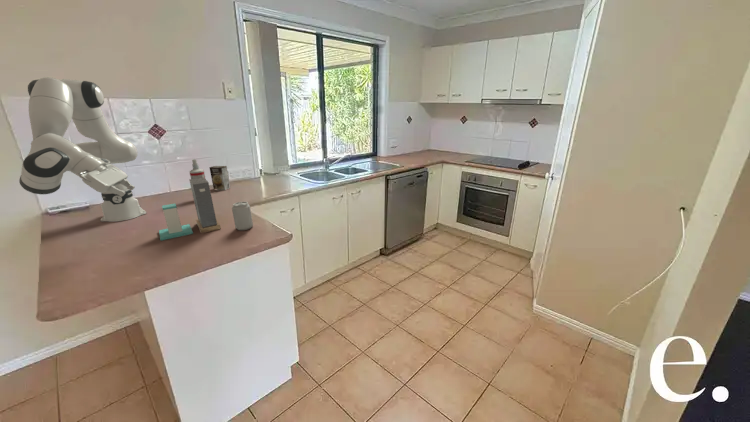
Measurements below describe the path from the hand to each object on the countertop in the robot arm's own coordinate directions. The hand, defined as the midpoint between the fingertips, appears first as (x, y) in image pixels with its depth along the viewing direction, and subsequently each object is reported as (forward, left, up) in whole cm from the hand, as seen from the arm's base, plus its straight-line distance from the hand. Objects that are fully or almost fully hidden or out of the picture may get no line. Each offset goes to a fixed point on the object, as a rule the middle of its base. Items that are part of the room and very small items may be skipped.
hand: (128, 191), depth 119 cm
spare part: (-4, +12, -21) cm, 24 cm away
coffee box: (-78, +45, -22) cm, 93 cm away
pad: (-3, +12, -22) cm, 25 cm away
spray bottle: (-57, +30, -22) cm, 68 cm away
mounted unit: (-3, +25, -22) cm, 33 cm away
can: (+11, +38, -22) cm, 45 cm away
